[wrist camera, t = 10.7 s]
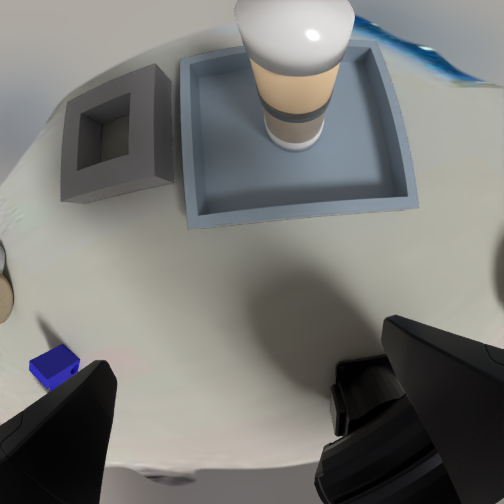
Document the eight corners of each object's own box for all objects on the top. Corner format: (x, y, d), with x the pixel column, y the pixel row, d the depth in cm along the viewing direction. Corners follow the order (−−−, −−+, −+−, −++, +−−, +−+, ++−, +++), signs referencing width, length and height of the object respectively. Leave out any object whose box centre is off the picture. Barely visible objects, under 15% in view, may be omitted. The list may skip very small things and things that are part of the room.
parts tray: (368, 59, 18) (376, 41, 15) (403, 210, 19) (419, 207, 16) (191, 76, 20) (180, 59, 17) (201, 228, 21) (187, 228, 18)
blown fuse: (328, 114, 19) (363, -5, 6) (311, 160, 19) (339, 62, 6) (277, 97, 19) (259, -28, 6) (258, 142, 20) (214, 33, 7)
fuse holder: (171, 81, 21) (155, 63, 17) (174, 183, 21) (154, 175, 18) (87, 112, 22) (67, 102, 19) (84, 203, 23) (60, 201, 19)
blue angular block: (79, 421, 26) (55, 443, 20) (56, 401, 27) (31, 420, 21) (90, 366, 25) (57, 389, 19) (63, 343, 25) (29, 360, 19)
